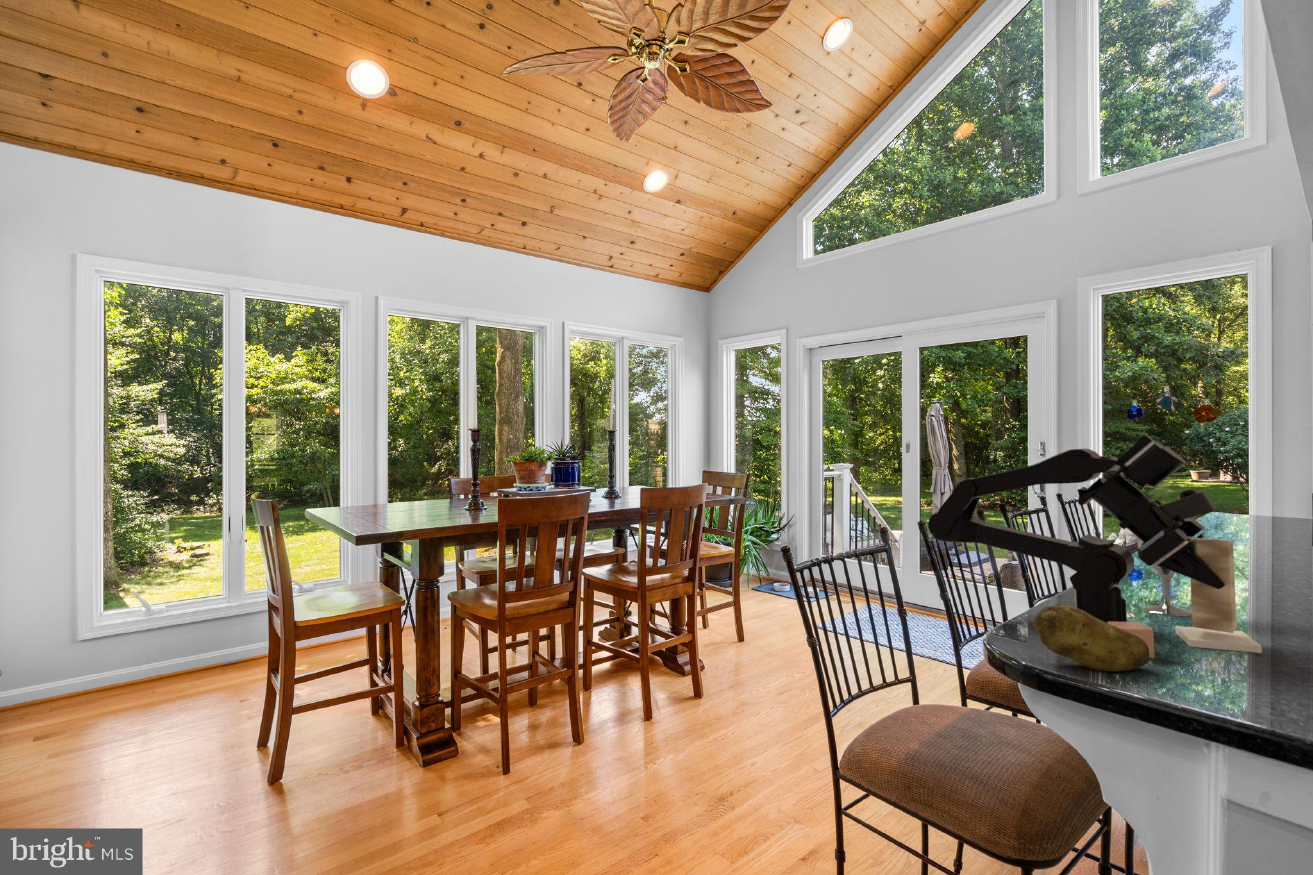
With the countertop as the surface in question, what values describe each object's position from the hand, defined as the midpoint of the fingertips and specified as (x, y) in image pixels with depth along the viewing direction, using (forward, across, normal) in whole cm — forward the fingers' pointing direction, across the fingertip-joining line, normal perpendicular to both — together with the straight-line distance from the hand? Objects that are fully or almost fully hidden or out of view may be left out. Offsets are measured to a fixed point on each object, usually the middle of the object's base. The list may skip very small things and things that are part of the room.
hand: (1224, 584), depth 93 cm
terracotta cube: (0, -14, +13) cm, 19 cm away
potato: (-2, -24, +15) cm, 28 cm away
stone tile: (+5, 0, +7) cm, 9 cm away
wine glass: (0, +17, +13) cm, 22 cm away
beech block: (+4, 0, +6) cm, 7 cm away
